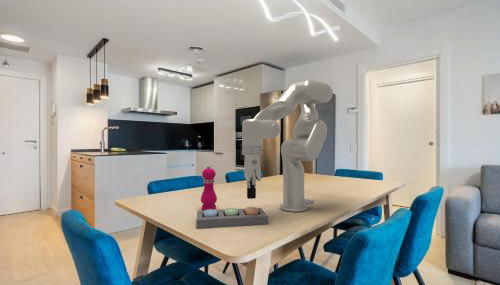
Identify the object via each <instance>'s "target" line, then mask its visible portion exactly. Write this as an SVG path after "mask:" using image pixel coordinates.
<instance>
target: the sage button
mask: <svg viewBox="0 0 500 285" xmlns="http://www.w3.org/2000/svg"><path fill="white" fill-rule="evenodd" d="M238 209H239V208H236V207H227V208H225V209H224V210H225V216H237V215H238Z"/></svg>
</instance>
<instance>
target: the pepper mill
mask: <svg viewBox="0 0 500 285" xmlns="http://www.w3.org/2000/svg"><path fill="white" fill-rule="evenodd" d="M211 167H212V166H211V165H210V164H207V165H206V168H205V169H203V171H202V173H201V175H202V178H203V180H202V181H203V182H202V183H204V186H203V191H202V194H201V196H200V202H201V203H202V205H201V211H204V210H208V209H214V210H217V206H216V203H217V200H218V197H217V194H216V192H215V188H214V183H215V177H216V171H215V169H213V168H211Z"/></svg>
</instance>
